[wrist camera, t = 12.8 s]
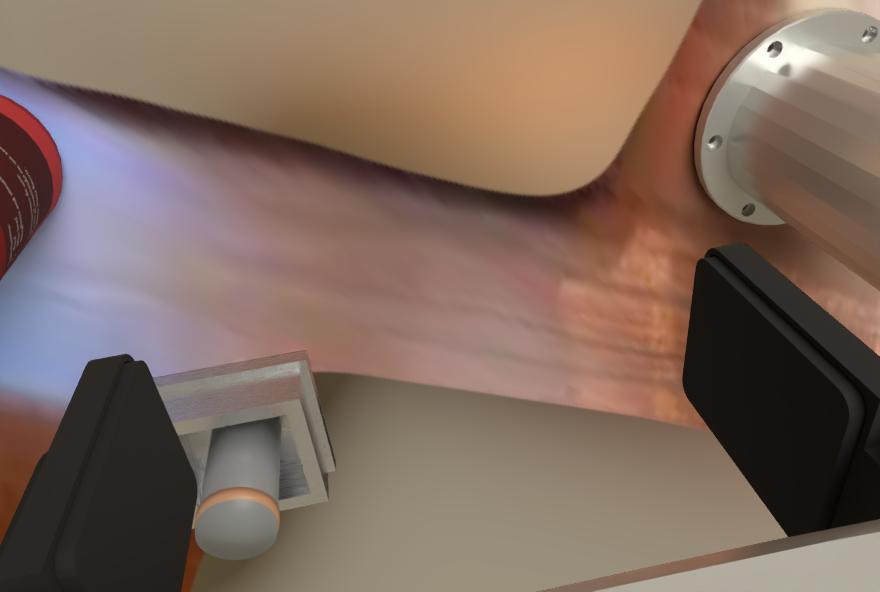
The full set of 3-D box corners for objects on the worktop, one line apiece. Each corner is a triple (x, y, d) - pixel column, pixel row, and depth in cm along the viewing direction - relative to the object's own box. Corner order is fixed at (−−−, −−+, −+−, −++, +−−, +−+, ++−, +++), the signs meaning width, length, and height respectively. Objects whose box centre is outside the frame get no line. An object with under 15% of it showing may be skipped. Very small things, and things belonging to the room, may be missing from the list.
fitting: (306, 350, 43) (306, 395, 39) (335, 460, 48) (338, 509, 44) (45, 398, 41) (20, 449, 38) (106, 506, 47) (89, 560, 43)
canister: (274, 401, 43) (269, 500, 36) (289, 451, 46) (286, 552, 39) (201, 413, 43) (182, 516, 36) (220, 463, 45) (206, 567, 39)
